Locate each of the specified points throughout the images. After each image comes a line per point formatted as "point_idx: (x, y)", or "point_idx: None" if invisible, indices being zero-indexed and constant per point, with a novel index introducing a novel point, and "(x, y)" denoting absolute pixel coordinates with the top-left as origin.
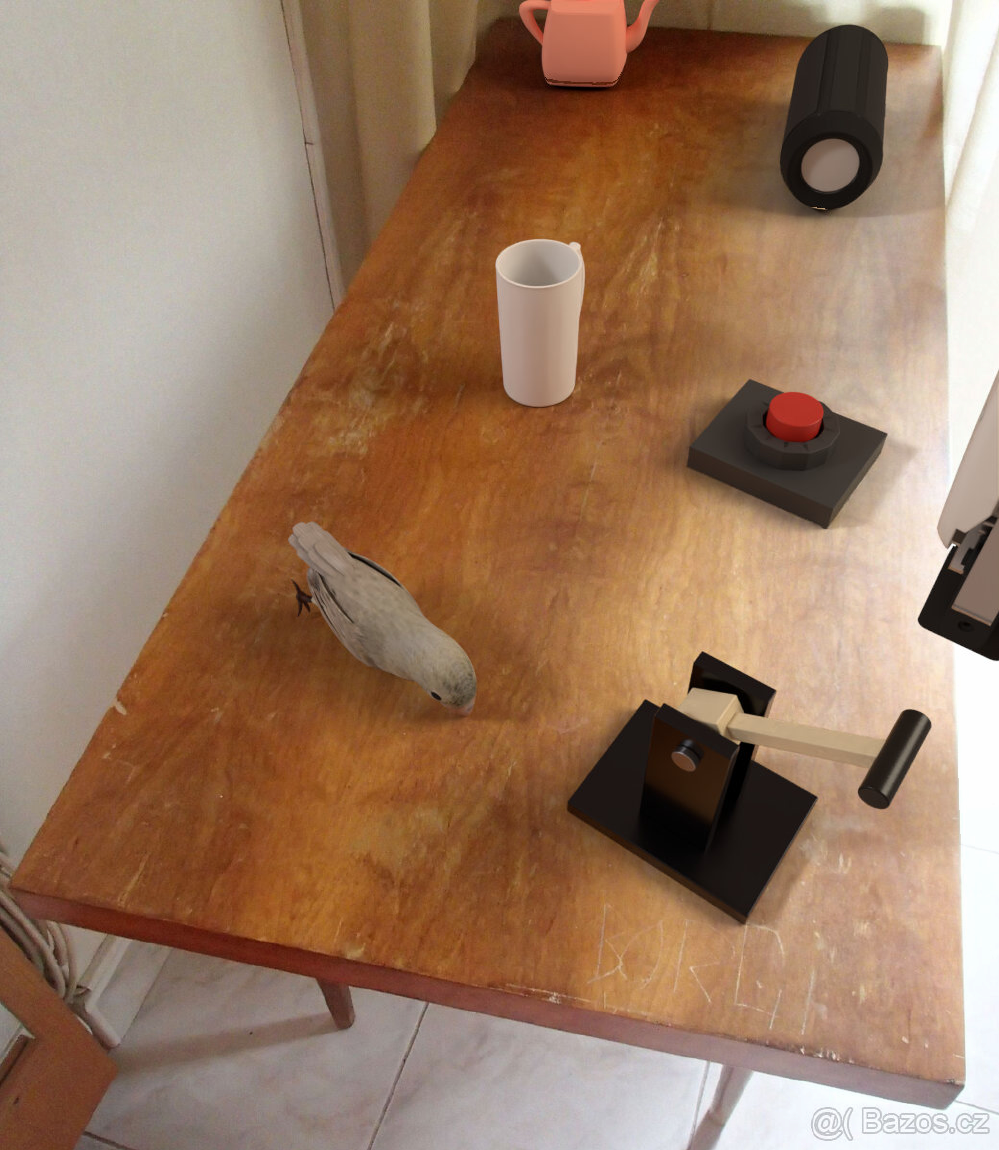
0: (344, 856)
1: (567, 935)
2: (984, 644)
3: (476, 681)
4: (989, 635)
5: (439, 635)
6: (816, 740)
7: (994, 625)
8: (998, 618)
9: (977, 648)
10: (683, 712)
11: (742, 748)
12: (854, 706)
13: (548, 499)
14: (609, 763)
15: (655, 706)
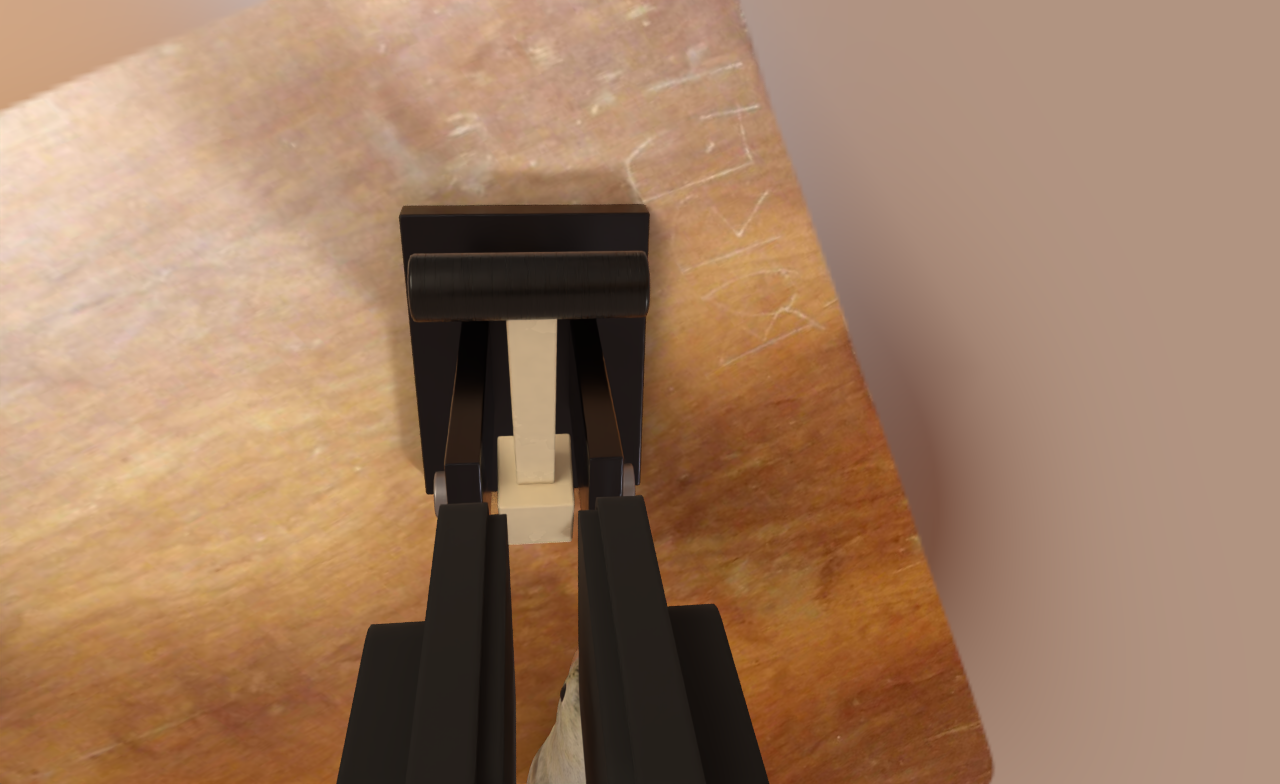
0: (831, 613)
1: (784, 379)
2: (719, 616)
3: (576, 673)
4: (729, 653)
5: (582, 766)
6: (545, 394)
7: (739, 697)
8: (749, 730)
9: (713, 604)
10: (562, 536)
11: (486, 394)
12: (177, 233)
13: (204, 760)
14: None
15: (428, 478)
